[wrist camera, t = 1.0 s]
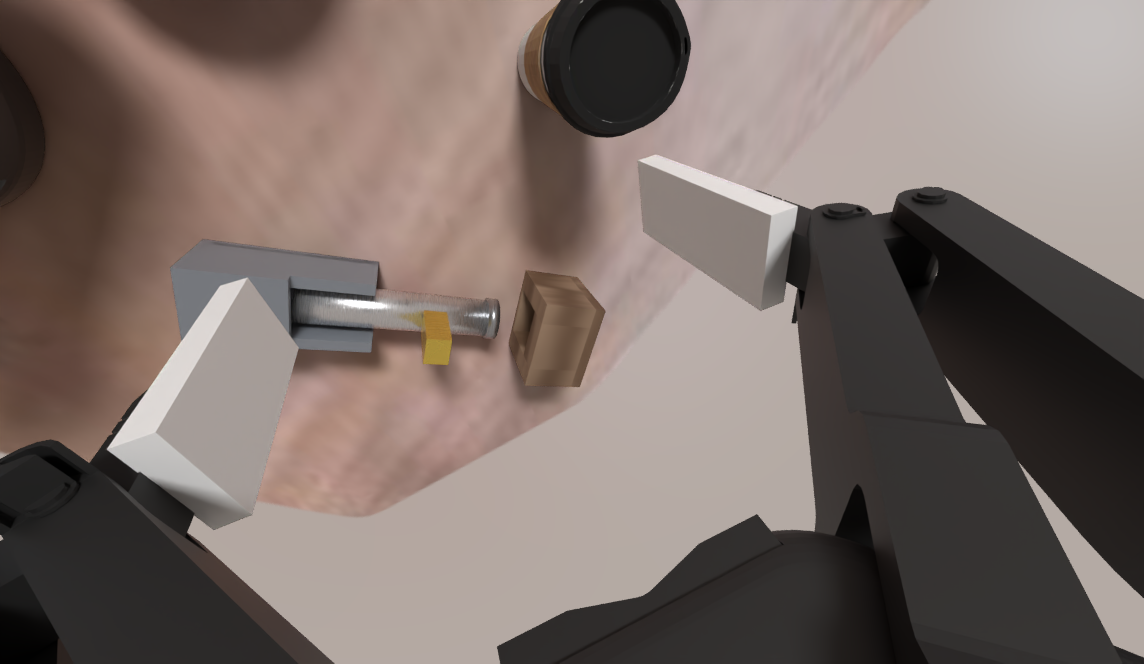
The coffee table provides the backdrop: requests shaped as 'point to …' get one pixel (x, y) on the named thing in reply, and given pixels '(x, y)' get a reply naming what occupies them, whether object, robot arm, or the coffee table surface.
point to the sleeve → (274, 287)
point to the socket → (554, 329)
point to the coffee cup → (607, 62)
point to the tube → (401, 315)
